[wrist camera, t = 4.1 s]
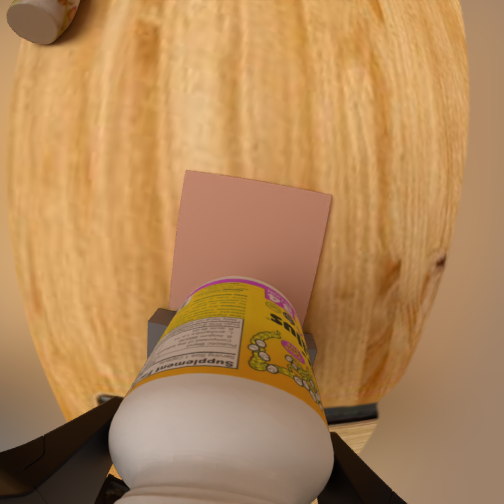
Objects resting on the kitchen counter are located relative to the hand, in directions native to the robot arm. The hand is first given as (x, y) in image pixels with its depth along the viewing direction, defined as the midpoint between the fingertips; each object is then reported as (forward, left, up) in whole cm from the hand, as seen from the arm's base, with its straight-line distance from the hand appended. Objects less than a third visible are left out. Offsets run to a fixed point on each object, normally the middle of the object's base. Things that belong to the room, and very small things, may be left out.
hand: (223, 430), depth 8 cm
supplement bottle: (0, 0, -8) cm, 8 cm away
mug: (+24, +22, -14) cm, 35 cm away
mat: (+3, 0, -13) cm, 14 cm away
